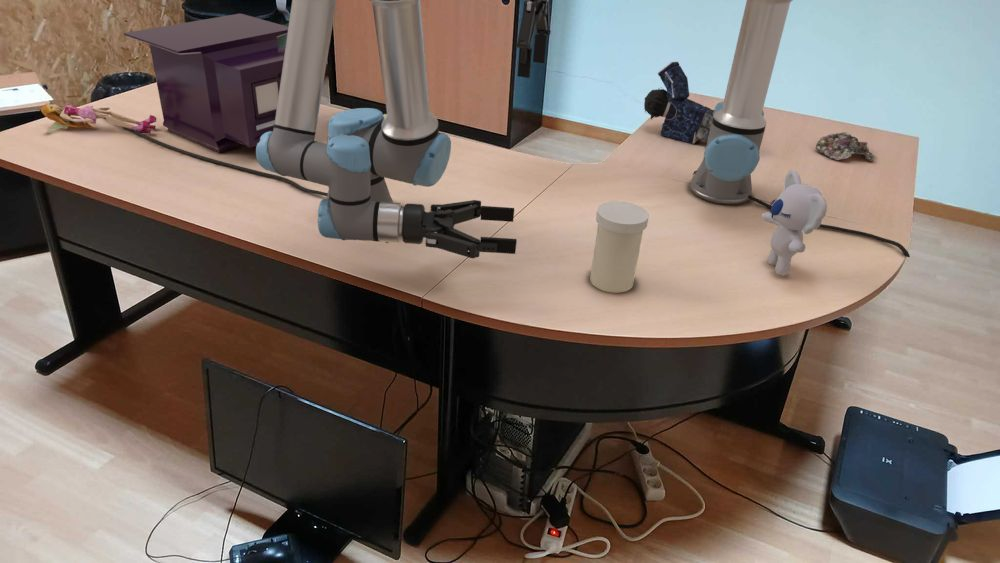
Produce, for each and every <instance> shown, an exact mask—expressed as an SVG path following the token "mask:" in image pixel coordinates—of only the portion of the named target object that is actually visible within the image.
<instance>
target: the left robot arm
mask: <svg viewBox="0 0 1000 563" xmlns="http://www.w3.org/2000/svg"><path fill="white" fill-rule="evenodd" d="M337 1H338V0H291V7H290V15H289V19H288V20H289V21H288V26H287V27H288V34H286V42H285V47H284V49H285V55H284V62H283V69H282V75H281V82H280V89H279V96H278V103H277V110H276V117H275V124H274V129H273V131H269V132H266V133H264V134H263V135H262V136H261V137H260V142H259V143H257V145H256V146H255V147H256V148H255V157H256V161H257V163H258V165H259V166H260V167H261V168H262V169H263V170H265V171H267V172H264V171H260V170H255V169H252V168H248V167H244V166H240V165H236V164H232V163H228V162H225V161H222V160H218V159H215V158H211V157H207V156H203V155H200V154H198V153H197V154H196V153H193V152H190V151H187V150H184V149H182V148H179V147H176V146H173V145H170V144H168V143H165V142H163V141H160V140H158V139H155V138H153V137H150V136H148V135H147V134H145V133H140V132H138V131H136V130H134V129H130V128H126V127H122V126H120V127H122V128H124V129H126V130H128V131H129V132H131V133H134V134H135V135H137V136H140V137H141V138H144V139H146V140H148V141H151V142H153V143H155V144H157V145H160V146H163V147H165V148H168V149H170V150H173V151H176V152H178V153H181V154H184V155H187V156H190V157H194V158H197V159H200V160H203V161H207V162H211V163H214V164H218V165H221V166H225V167H229V168H233V169H236V170H240V171H244V172H247V173H250V174H251V173H252V174H256V175H260V176H263V177H267V178H272V179H277V180H280V181H282V182H285V183H288V184H290V185H292V186H294V187H295V188H297V189H299V190H301V191H303V192H305V193H310V194H315V195H320V196H324V197H326V198H322V199H321V201H320V202H319V205H318V210H317V211H318V212H317V228H318V232H319V234H320V235H321V236H322V237H324V238H326V239H327V238H328V239H334V240H341V241H347V240H348V241H367V242H368V241H371V242H373V241H374V242H382V243H383V242H384V243H386V244H389V243H400V242H401V240H402V242H403V243H404V244H410V245H411V244H412V245H421V244H423V241H424V238H425V247H427V248H433V249H439V250H443V251H446V252H449V253H452V254H457V255H459V256H462V257H465V258H469V259H475V258H479V257H480V253H491V254H494V253H496V254H510V255H516V250H517V238H509V237H508V238H506V237H493V236H491V237H490V236H480V239H479V238H477V237H475V236H472V235H470V234H468V233H465V232H463V231H461V230H460V229H456V227H455V225H457V224H461V223H465V222H468V221H471V220H474V219H478V218H480V221H493V222H509V223H513V222H514V220H515V219H514V217H515V207H509V206H508V207H507V206H506V207H505V206H489V205H482V201H481V200H477V199H473V200H465V201H457V202H450V203H444V204H442V203H441V204H437V203H436V204H430V211H426V210H425V209H426V208H425V206H424V204H423V203H406V204H404V205H403V204H402V203H401V202H396V201H395V202H394V201H393V198H392V197H391V193H390V191H389V188H388V185H387V182H386V179H390V180H392V181H393V180H394V181H397V182H402V183H406V184H410V185H412V186H420V187H426V188H430V187H433V186H435V185H436V184H437V183H438V182H439V181H440V180H441V179H442V177H443V176H444V173H445V171H446V169H447V167H448V164H449V161H450V157H451V150H452V141H451V138H450V136H449V135H448V134H446V133H445V132H440V127H439V120H438V118H437V117H436V116H435V115H434V114H433V113H431V111H430V110H431V109H430V99H429V89H428V77H427V66H426V65H427V64H426V55H425V54H426V53H425V44H424V43H425V42H424V32H423V21H422V9H421V0H369V2H370V3H371V4H372V11H373V20H374V26H375V35H376V41H377V49H378V56H379V65H380V70H381V72H380V73H381V78H382V84H383V85H382V88H383V94H384V101H385V102H384V103H385V109H386V114H387V117H386V118H385V119H384V116H383V112H382V111H381V110H380V109H379V108H373V107H359V108H352V109H347V110H342V111H340V112H337V113H334V114H333V115H332V116H331V117H330V119H329V121H328V125H327V126H328V130H327V139H328V141H327V143H326V142H323V141H322V142H321V141H318V140H316V134H317V126H318V121H319V120H318V119H319V113H320V106H321V100H322V96H323V95H322V94H323V88H324V82H325V75H326V69H327V63H328V57H329V50H330V46H331V37H332V33H333V32H332V31H333V25H334V19H335V12H336V6H337ZM383 119H384V120H383ZM268 172H271V173H268ZM272 173H275V174H272ZM287 177H289V178H294V179H297V180H302V181H306V182H310V183H314V184H316V185H317V184H318V185H322V186H326V187H328V190H327V191H328V192H325V191H320V190H315V189H311V188H307V187H304V186H302V185H300V184H299V183H297V182H295V181H293V180H291V179H289V178H287ZM385 178H386V179H385Z"/></svg>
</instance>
